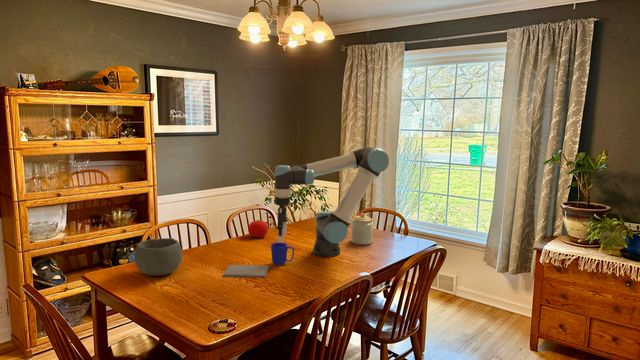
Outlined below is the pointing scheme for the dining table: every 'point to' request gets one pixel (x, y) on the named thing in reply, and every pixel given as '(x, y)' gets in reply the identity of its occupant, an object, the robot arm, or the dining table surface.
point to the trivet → (246, 271)
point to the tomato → (258, 228)
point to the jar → (362, 230)
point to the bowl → (158, 256)
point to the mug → (280, 253)
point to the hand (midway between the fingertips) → (282, 238)
